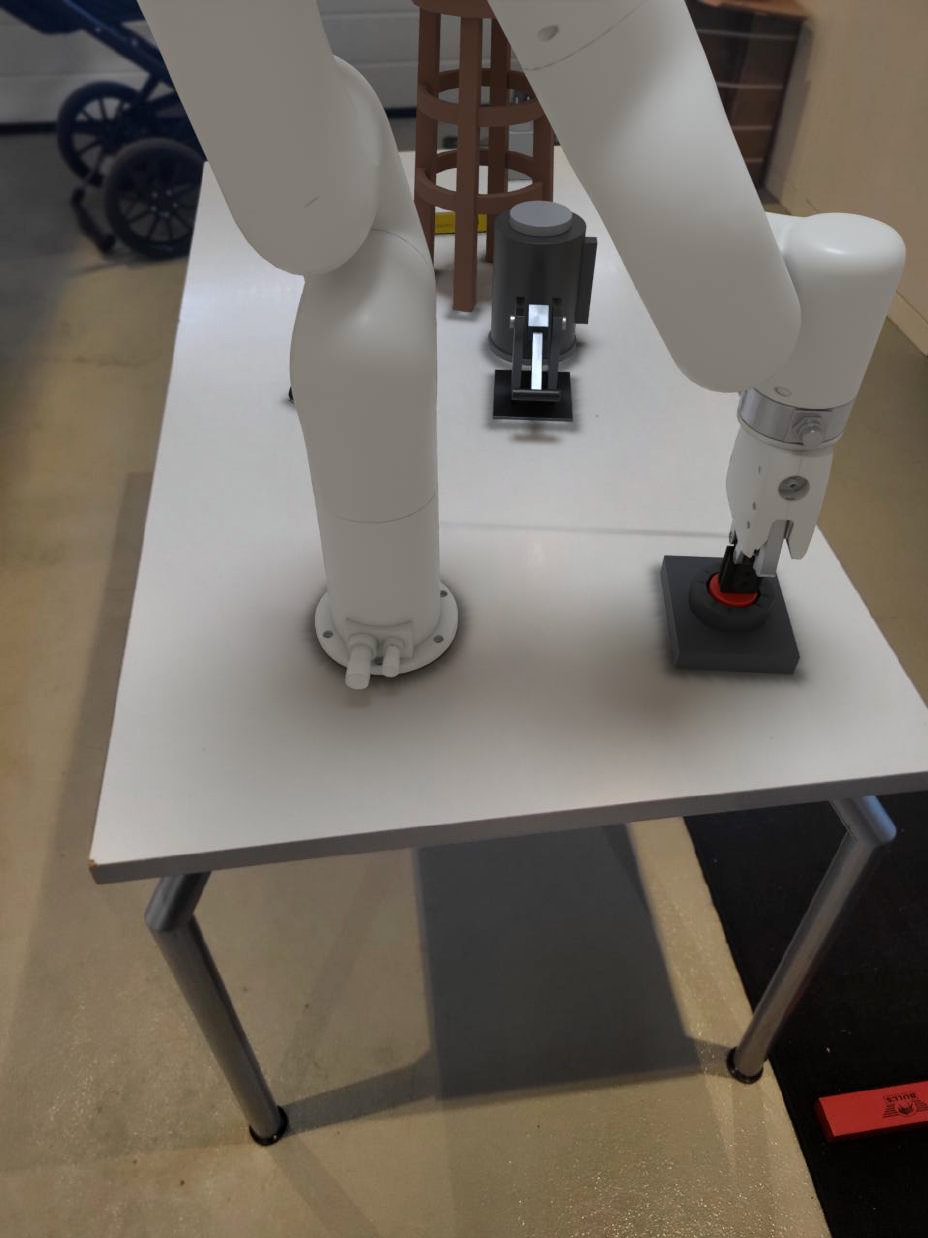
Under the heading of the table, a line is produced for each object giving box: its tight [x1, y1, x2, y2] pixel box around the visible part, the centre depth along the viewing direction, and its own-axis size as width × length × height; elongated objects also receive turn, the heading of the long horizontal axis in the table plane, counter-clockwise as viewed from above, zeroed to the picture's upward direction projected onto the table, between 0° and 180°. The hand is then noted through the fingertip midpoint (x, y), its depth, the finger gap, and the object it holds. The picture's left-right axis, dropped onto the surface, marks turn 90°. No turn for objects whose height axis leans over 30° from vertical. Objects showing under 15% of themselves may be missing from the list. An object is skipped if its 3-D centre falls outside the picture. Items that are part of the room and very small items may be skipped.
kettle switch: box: [512, 305, 560, 401], centre depth 94 cm, size 11×5×2 cm, turn 177°
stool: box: [411, 0, 555, 313], centre depth 110 cm, size 20×35×20 cm
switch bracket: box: [492, 297, 574, 423], centre depth 99 cm, size 10×9×12 cm
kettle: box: [487, 201, 598, 367], centre depth 106 cm, size 13×12×17 cm
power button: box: [708, 573, 757, 608], centre depth 77 cm, size 4×4×2 cm
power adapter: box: [508, 96, 533, 181], centre depth 146 cm, size 3×5×12 cm, turn 96°
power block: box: [659, 554, 801, 675], centre depth 78 cm, size 12×10×4 cm
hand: (737, 586), depth 76 cm, fingers closed
